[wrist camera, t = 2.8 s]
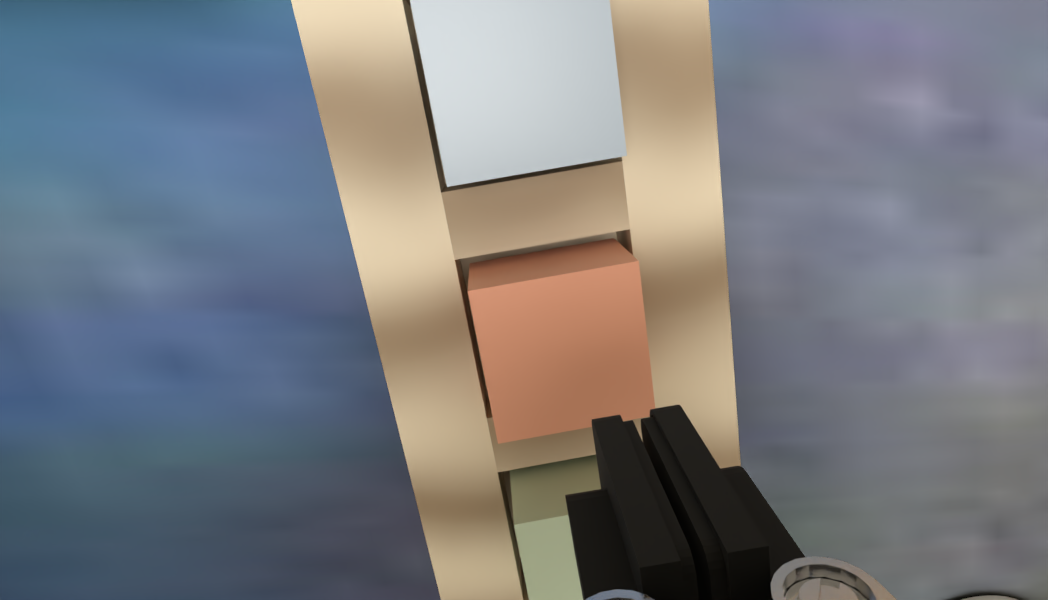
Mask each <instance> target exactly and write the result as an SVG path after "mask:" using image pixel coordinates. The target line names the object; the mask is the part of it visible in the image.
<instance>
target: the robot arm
mask: <svg viewBox="0 0 1048 600" xmlns="http://www.w3.org/2000/svg"><path fill="white" fill-rule="evenodd" d="M592 430H593V437H594V444H595V451H596V458H597V465H598V471H599V478H600V485H601V489H598V490H592V491H586V492H580V493H574V494H568V495H565V498H566V504H567V510H568V516H569V522H570V528H571V534H572V540H573V546H574V552H575V557H576V563H577V569H578V574H579V580H580V585H581V590H582V596H583V600H897V599H896V598H895V597H894V596H893V595H891V594H890V593H889V592H888V591H887V590H886V589H885V588H884V587H883V586H882V585H881V584H880V583H879V582H878V581H877V580H876V579H874V578H873V577H872V576H870V575H869V574H868V573H866V572H865V571H864V570H862V569H860V568H858V567H856V566H854V565H852V564H849V563H847V562H845V561H841V560H837V559H833V558H829V557H813V556H810V557H805V556H804V555H803V553H802V552H801V550H800V549H799V547H798V546H797V545H796V543H795V542H794V540H793V539H792V537H791V536H790V534H789V533H788V532H787V530H786V529H785V527H784V526H783V524H782V523H781V522H780V520H779V519H778V517H777V516H776V514H775V513H774V511H773V510H772V509H771V507H770V506H769V504H768V503H767V501H766V500H765V498H764V497H763V496H762V494H761V493H760V491H759V490H758V488H757V487H756V485H755V484H754V483H753V481H752V480H751V478H750V477H749V475H748V474H747V472H746V471H745V470H744V469H743V468H742V467H741V466H733V467H727V468H721V469H720V467H719V466H718V464H717V462H716V461H715V459H714V458H713V456H712V455H711V453H710V451H709V450H708V448H707V447H706V445H705V443H704V442H703V440H702V439H701V437H700V435H699V434H698V432H697V431H696V429H695V427H694V426H693V424H692V423H691V421H690V420H689V418H688V416H687V415H686V413H685V412H684V410H683V408H682V407H681V406H680V405H673V406H667V407H661V408H655V409H650V417H648V418H642V419H641V432H642V439H641V437H640V435H639V433H638V431H637V428H636V426H635V424H634V422H633V420H630V421H624V422H623V420H622V417H621V415H614V416H608V417H602V418H596V419H592ZM642 441H643V442H642Z"/></svg>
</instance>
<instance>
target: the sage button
mask: <svg viewBox="0 0 1048 600" xmlns="http://www.w3.org/2000/svg"><path fill="white" fill-rule="evenodd" d="M510 482H511V494H512V506H513V518H514V527H515V532H516V537H517V542H518V547H519V552H520V557H521V562H522V567H523V572H524V577H525V582H526V587H527V592H528V597H529V600H583V596H582V590H581V585H580V580H579V574H578V569H577V563H576V557H575V552H574V546H573V540H572V534H571V528H570V522H569V516H568V510H567V504H566V498H565V495H568V494H574V493H580V492H586V491H592V490H598V489H601V485H600V478H599V471H598V465H597V458H596V455H590V456H585V457H579V458H574V459H568V460H563V461H557V462H552V463H546V464H541V465H536V466H530V467H525V468H519V469H514V470H510Z"/></svg>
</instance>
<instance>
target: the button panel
mask: <svg viewBox="0 0 1048 600" xmlns="http://www.w3.org/2000/svg"><path fill="white" fill-rule="evenodd" d="M291 2H292V6H293V10H294V14H295V18H296V22H297V26H298V30H299V34H300V38H301V42H302V46H303V50H304V54H305V58H306V62H307V66H308V70H309V74H310V78H311V82H312V86H313V90H314V94H315V98H316V102H317V106H318V110H319V114H320V118H321V122H322V126H323V130H324V134H325V138H326V142H327V146H328V150H329V154H330V158H331V162H332V166H333V170H334V174H335V178H336V182H337V186H338V190H339V194H340V198H341V202H342V206H343V210H344V214H345V218H346V222H347V226H348V230H349V234H350V238H351V242H352V246H353V250H354V254H355V258H356V262H357V266H358V270H359V274H360V278H361V282H362V286H363V290H364V294H365V298H366V302H367V306H368V310H369V314H370V318H371V322H372V326H373V330H374V334H375V338H376V342H377V346H378V350H379V354H380V358H381V362H382V366H383V370H384V374H385V378H386V382H387V386H388V390H389V394H390V398H391V402H392V406H393V410H394V414H395V418H396V422H397V426H398V430H399V434H400V438H401V442H402V446H403V450H404V454H405V458H406V462H407V466H408V470H409V474H410V478H411V482H412V486H413V490H414V494H415V498H416V502H417V506H418V510H419V514H420V518H421V522H422V526H423V530H424V534H425V538H426V542H427V546H428V550H429V554H430V558H431V562H432V566H433V570H434V574H435V578H436V582H437V586H438V590H439V594H440V598H441V600H529V597H528V592H527V587H526V582H525V577H524V572H523V567H522V562H521V557H520V552H519V547H518V542H517V537H516V532H515V527H514V518H513V506H512V494H511V482H510V470H514V469H519V468H525V467H530V466H536V465H541V464H546V463H552V462H557V461H563V460H568V459H574V458H579V457H585V456H590V455H596V451H595V444H594V437H593V430H592V427H588V428H583V429H577V430H572V431H566V432H561V433H555V434H550V435H544V436H539V437H533V438H528V439H522V440H517V441H511V442H506V443H500V444H498V441H497V436H496V431H495V426H494V421H493V416H492V411H491V406H490V401H489V396H488V391H487V386H486V381H485V376H484V371H483V366H482V361H481V356H480V351H479V346H478V341H477V336H476V331H475V326H474V321H473V316H472V311H471V306H470V300H469V295H468V279H469V264H470V263H474V262H480V261H486V260H491V259H497V258H503V257H508V256H514V255H520V254H525V253H531V252H537V251H542V250H548V249H554V248H560V247H565V246H571V245H577V244H582V243H588V242H594V241H599V240H605V239H611V238H614V239H615V240H617V241H618V242H619V243H620V244H621V245H622V246H623V247H624V248H625V249H626V250H627V251H629V252H630V253H631V254H632V255H633V256H634V257H635V258H636V259H637V260H638V261H639V267H640V276H641V285H642V294H643V303H644V312H645V321H646V330H647V338H648V347H649V356H650V365H651V374H652V383H653V392H654V401H655V408H661V407H667V406H673V405H680V406H681V407H682V408H683V410H684V412H685V413H686V415H687V416H688V418H689V420H690V421H691V423H692V424H693V426H694V427H695V429H696V431H697V432H698V434H699V435H700V437H701V439H702V440H703V442H704V443H705V445H706V447H707V448H708V450H709V451H710V453H711V455H712V456H713V458H714V459H715V461H716V462H717V464H718V466H719V467H720V469H721V468H727V467H733V466H741V464H740V449H739V435H738V421H737V406H736V392H735V377H734V363H733V349H732V334H731V320H730V306H729V291H728V277H727V262H726V248H725V234H724V219H723V205H722V191H721V176H720V162H719V148H718V133H717V119H716V104H715V90H714V76H713V61H712V47H711V33H710V18H709V4H708V0H610V9H611V18H612V27H613V36H614V45H615V53H616V62H617V71H618V80H619V89H620V98H621V107H622V116H623V125H624V134H625V142H626V151H627V156H623V157H617V158H611V159H605V160H600V161H594V162H588V163H582V164H577V165H571V166H565V167H559V168H553V169H548V170H542V171H536V172H530V173H525V174H519V175H513V176H507V177H502V178H496V179H490V180H484V181H479V182H473V183H467V184H461V185H456V186H450V187H447V185H446V180H445V175H444V170H443V165H442V160H441V154H440V149H439V144H438V139H437V134H436V129H435V124H434V119H433V114H432V109H431V104H430V99H429V94H428V89H427V84H426V79H425V74H424V69H423V64H422V59H421V54H420V49H419V44H418V39H417V34H416V29H415V24H414V19H413V14H412V9H411V3H410V0H291ZM649 417H650V416H649ZM643 418H648V417H643ZM641 419H642V418H638V419H632V420H633V422H634V424H635V426H636V428H637V431H638V433H639V435H640V437H641V439H642V432H641ZM627 421H630V420H627ZM623 422H624V421H623ZM642 442H643V441H642Z"/></svg>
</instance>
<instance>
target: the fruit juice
mask: <svg viewBox="0 0 1048 600" xmlns="http://www.w3.org/2000/svg"><path fill="white" fill-rule="evenodd" d="M961 600H1018V599H1015V598H1011V597H1006V596H997V595H985V596H976V597H970V598H965V599H961Z"/></svg>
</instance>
